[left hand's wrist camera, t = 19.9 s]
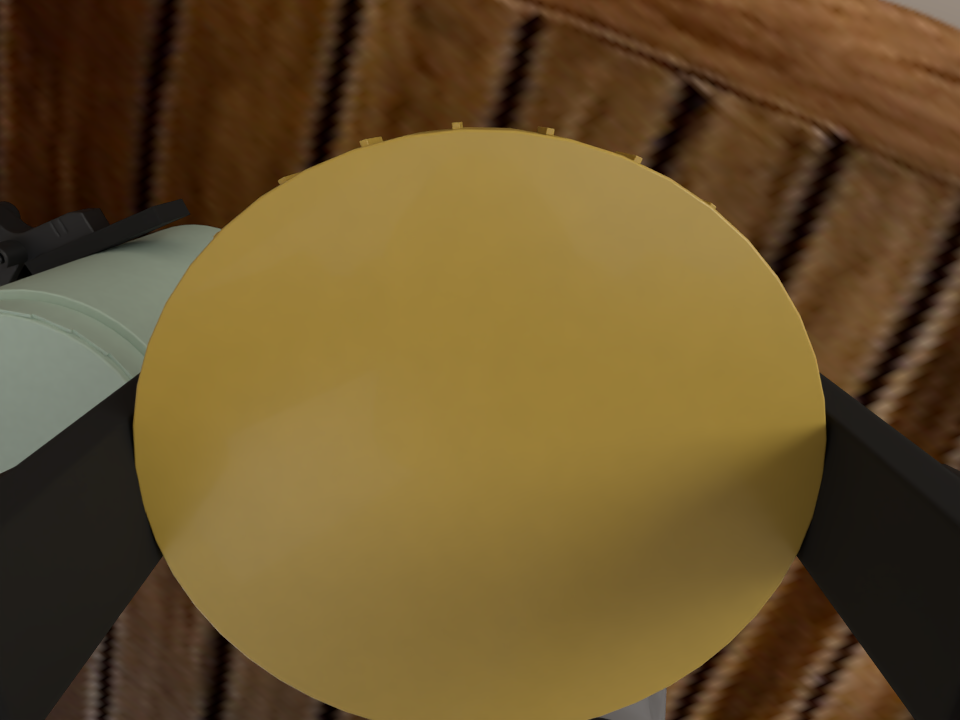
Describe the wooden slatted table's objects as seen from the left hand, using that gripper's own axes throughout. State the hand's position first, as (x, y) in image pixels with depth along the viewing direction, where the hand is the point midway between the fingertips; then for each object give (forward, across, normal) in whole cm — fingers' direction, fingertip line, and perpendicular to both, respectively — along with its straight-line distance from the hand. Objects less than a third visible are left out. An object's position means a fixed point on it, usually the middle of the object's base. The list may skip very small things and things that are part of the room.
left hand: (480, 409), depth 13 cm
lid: (-3, 0, 0) cm, 3 cm away
